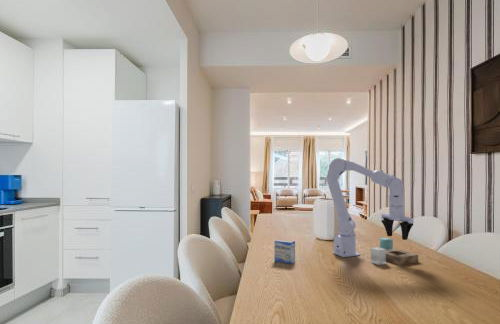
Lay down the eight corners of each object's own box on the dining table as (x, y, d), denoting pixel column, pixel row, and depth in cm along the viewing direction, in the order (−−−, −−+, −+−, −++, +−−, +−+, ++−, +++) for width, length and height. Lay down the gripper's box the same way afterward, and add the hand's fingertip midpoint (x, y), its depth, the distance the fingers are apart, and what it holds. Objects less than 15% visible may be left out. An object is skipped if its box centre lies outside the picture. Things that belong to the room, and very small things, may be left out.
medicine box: (274, 261, 125) (273, 240, 125) (278, 258, 128) (278, 238, 129) (291, 264, 121) (291, 242, 121) (295, 261, 125) (295, 240, 125)
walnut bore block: (399, 265, 119) (399, 257, 119) (377, 258, 129) (377, 251, 129) (418, 261, 123) (418, 254, 124) (395, 255, 134) (395, 248, 134)
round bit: (387, 253, 136) (386, 240, 137) (377, 250, 142) (377, 238, 142) (395, 252, 139) (395, 239, 139) (385, 249, 144) (385, 237, 144)
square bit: (378, 265, 119) (378, 250, 120) (371, 262, 123) (370, 248, 123) (386, 264, 121) (385, 249, 121) (378, 261, 125) (378, 247, 125)
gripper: (418, 207, 122) (419, 240, 122) (389, 204, 136) (389, 233, 135) (406, 208, 119) (407, 241, 119) (377, 204, 133) (378, 235, 132)
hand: (397, 237), depth 127 cm, fingers open, 7 cm apart
